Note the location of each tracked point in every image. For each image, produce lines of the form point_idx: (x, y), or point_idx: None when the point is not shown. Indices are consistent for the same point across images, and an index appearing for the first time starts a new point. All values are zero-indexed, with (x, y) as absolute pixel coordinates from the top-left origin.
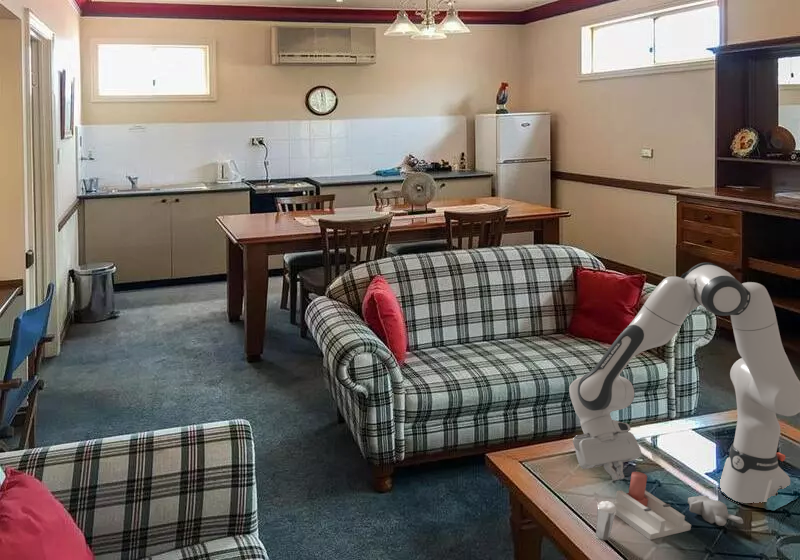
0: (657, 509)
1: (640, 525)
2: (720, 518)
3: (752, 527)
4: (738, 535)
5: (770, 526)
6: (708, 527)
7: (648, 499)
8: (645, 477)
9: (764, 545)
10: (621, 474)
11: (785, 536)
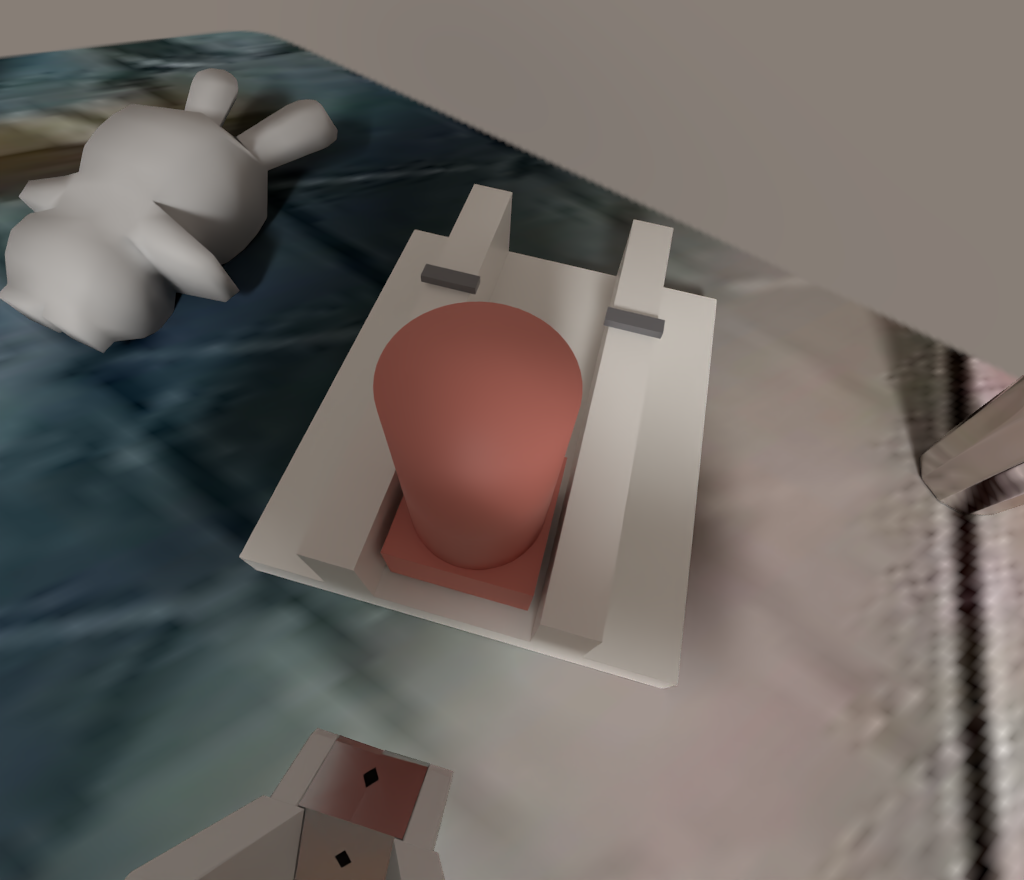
0: None
1: (694, 369)
2: (282, 124)
3: None
4: None
5: (70, 97)
6: (309, 221)
7: None
8: (467, 314)
9: (280, 78)
10: (335, 766)
11: (129, 57)
